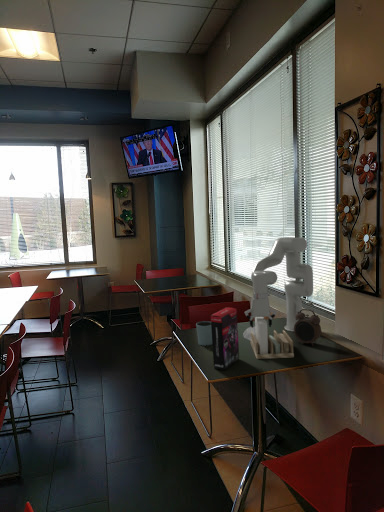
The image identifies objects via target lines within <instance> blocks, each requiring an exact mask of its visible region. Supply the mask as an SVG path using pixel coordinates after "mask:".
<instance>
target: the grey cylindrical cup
mask: <svg viewBox="0 0 384 512" xmlns="http://www.w3.org/2000/svg"><path fill="white" fill-rule="evenodd" d="M195 326H196V333H197V341H198V342H197V344H198V345H200V346H206V345H207V346H211V345H212V329H211V321H210V320H209V321H208V320H207V321H205V320H203V321H198V322H196V324H195Z"/></svg>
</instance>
